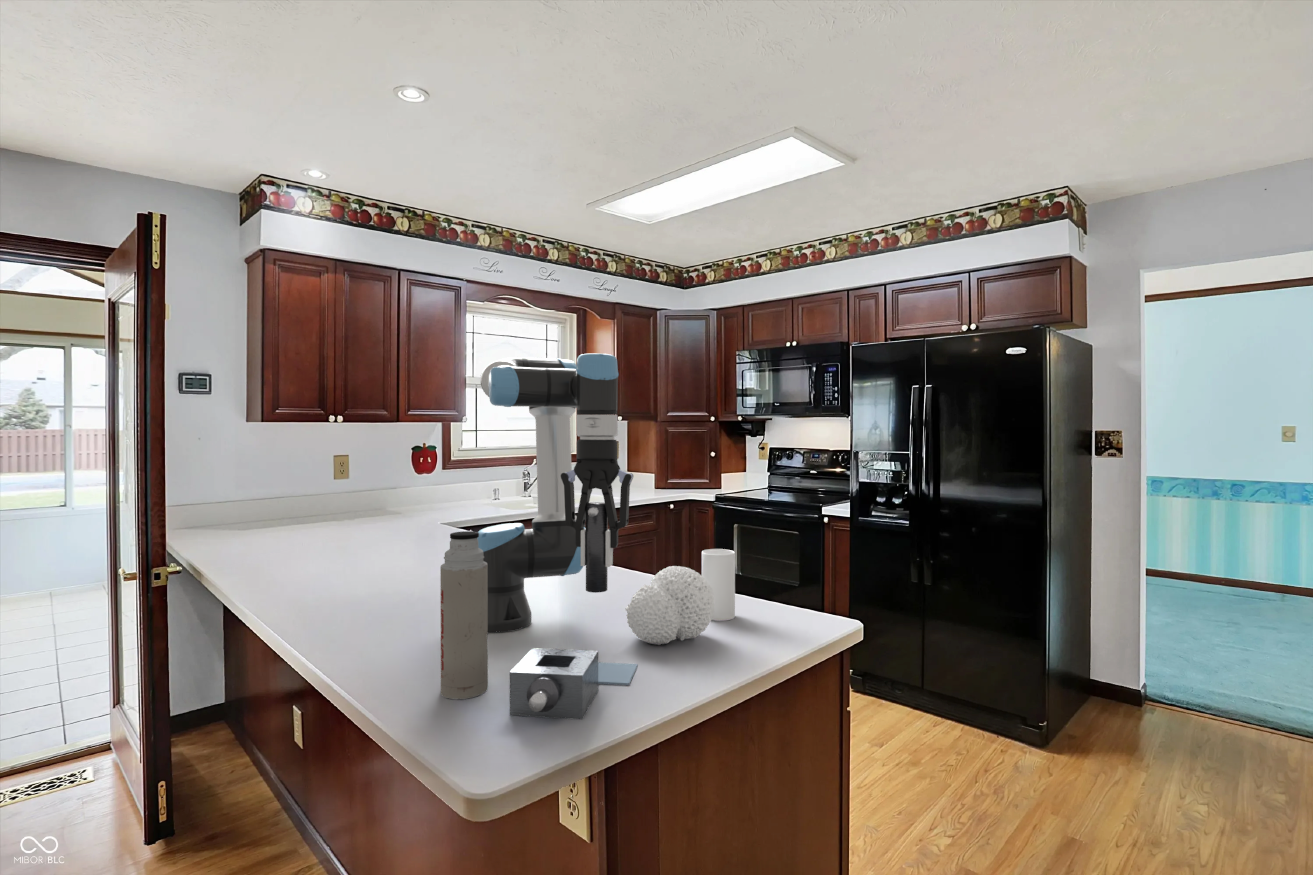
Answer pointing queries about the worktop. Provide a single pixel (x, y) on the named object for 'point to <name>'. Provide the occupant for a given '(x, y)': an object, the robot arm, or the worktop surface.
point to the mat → (615, 673)
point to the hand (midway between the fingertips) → (596, 564)
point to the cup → (720, 581)
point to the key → (596, 547)
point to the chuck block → (554, 683)
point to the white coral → (671, 606)
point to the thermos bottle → (464, 618)
